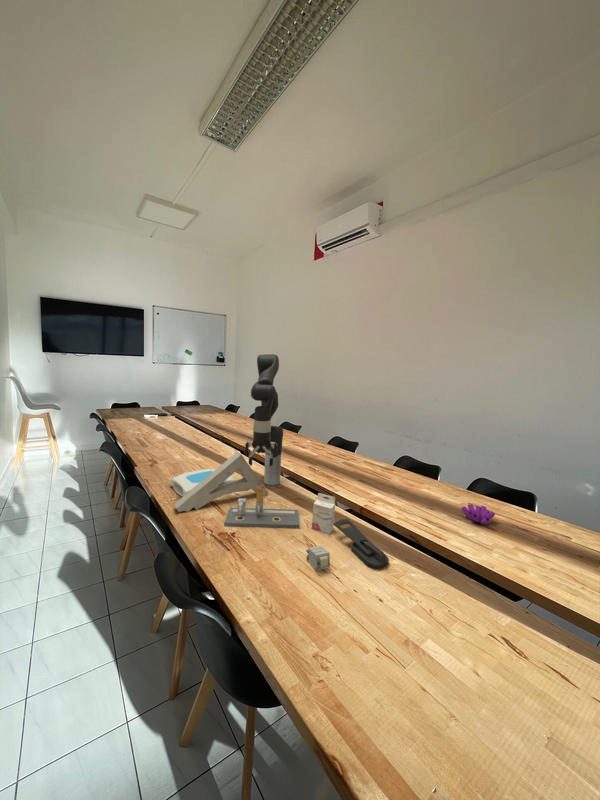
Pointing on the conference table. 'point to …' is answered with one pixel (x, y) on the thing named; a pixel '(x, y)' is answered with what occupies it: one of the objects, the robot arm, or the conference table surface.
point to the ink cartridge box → (323, 513)
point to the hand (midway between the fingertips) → (260, 465)
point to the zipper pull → (363, 547)
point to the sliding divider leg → (259, 500)
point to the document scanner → (192, 480)
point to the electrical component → (318, 556)
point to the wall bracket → (210, 484)
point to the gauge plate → (261, 517)
